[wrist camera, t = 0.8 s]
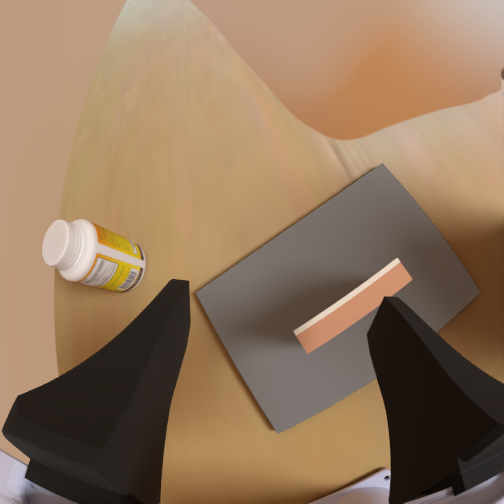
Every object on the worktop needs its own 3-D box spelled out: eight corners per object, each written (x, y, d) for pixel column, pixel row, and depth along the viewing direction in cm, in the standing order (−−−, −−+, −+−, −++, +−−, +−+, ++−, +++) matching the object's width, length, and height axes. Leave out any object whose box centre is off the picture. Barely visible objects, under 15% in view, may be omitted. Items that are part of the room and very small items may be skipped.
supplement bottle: (114, 242, 31) (45, 211, 22) (152, 242, 29) (80, 206, 20) (106, 291, 30) (32, 272, 20) (144, 296, 28) (66, 278, 19)
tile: (392, 293, 21) (412, 279, 14) (317, 345, 22) (307, 353, 15) (381, 277, 21) (397, 257, 15) (307, 329, 22) (293, 331, 16)
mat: (476, 293, 19) (480, 292, 18) (279, 430, 21) (277, 433, 21) (381, 167, 24) (382, 163, 24) (199, 293, 26) (195, 292, 26)
